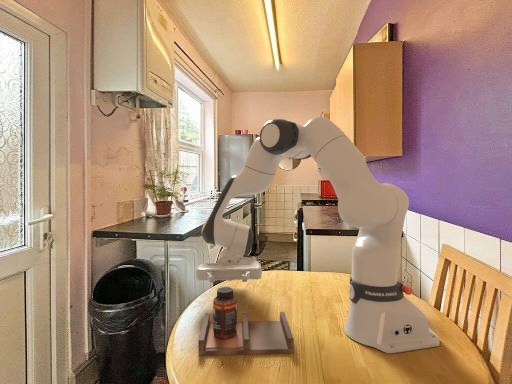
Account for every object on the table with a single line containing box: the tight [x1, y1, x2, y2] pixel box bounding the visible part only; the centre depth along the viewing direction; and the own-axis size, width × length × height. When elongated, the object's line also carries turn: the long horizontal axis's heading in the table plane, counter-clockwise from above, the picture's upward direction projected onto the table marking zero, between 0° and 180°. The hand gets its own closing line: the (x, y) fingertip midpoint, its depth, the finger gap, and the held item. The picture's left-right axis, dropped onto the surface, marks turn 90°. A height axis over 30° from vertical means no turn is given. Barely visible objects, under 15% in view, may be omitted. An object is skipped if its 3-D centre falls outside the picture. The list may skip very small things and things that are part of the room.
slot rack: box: [197, 311, 294, 356], centre depth 77 cm, size 22×14×4 cm, turn 93°
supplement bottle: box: [212, 286, 238, 339], centre depth 77 cm, size 6×6×11 cm
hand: (228, 279), depth 89 cm, fingers open, 8 cm apart
